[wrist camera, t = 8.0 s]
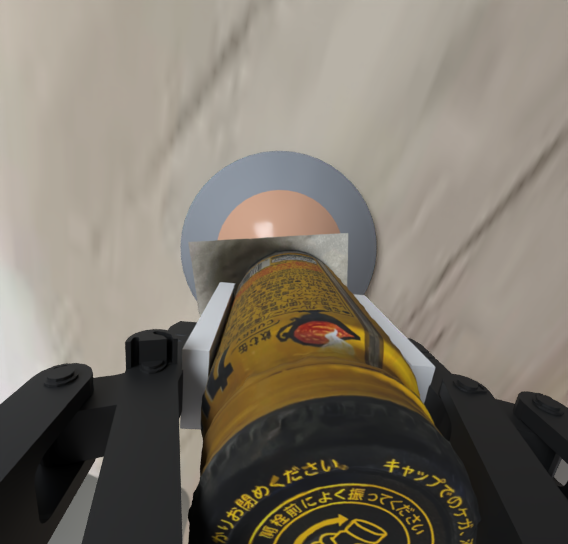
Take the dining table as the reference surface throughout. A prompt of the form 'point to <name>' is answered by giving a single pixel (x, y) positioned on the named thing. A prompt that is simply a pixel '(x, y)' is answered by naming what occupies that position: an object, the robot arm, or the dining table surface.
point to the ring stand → (282, 209)
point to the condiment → (314, 412)
